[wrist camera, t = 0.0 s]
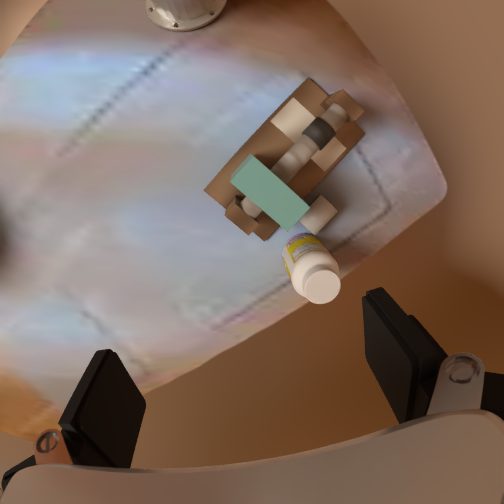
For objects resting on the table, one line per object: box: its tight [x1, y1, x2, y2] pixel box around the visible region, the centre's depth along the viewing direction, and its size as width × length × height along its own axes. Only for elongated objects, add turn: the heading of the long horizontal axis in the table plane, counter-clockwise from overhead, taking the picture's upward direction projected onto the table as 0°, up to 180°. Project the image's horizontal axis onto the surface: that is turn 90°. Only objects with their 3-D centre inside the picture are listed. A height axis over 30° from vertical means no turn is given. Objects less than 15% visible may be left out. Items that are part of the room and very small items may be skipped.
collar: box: [230, 154, 310, 232], centre depth 40 cm, size 9×4×9 cm, turn 48°
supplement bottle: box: [282, 234, 340, 304], centre depth 43 cm, size 7×7×13 cm
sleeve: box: [299, 195, 338, 235], centre depth 46 cm, size 4×5×4 cm
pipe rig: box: [204, 78, 365, 241], centre depth 41 cm, size 12×23×8 cm, turn 138°
